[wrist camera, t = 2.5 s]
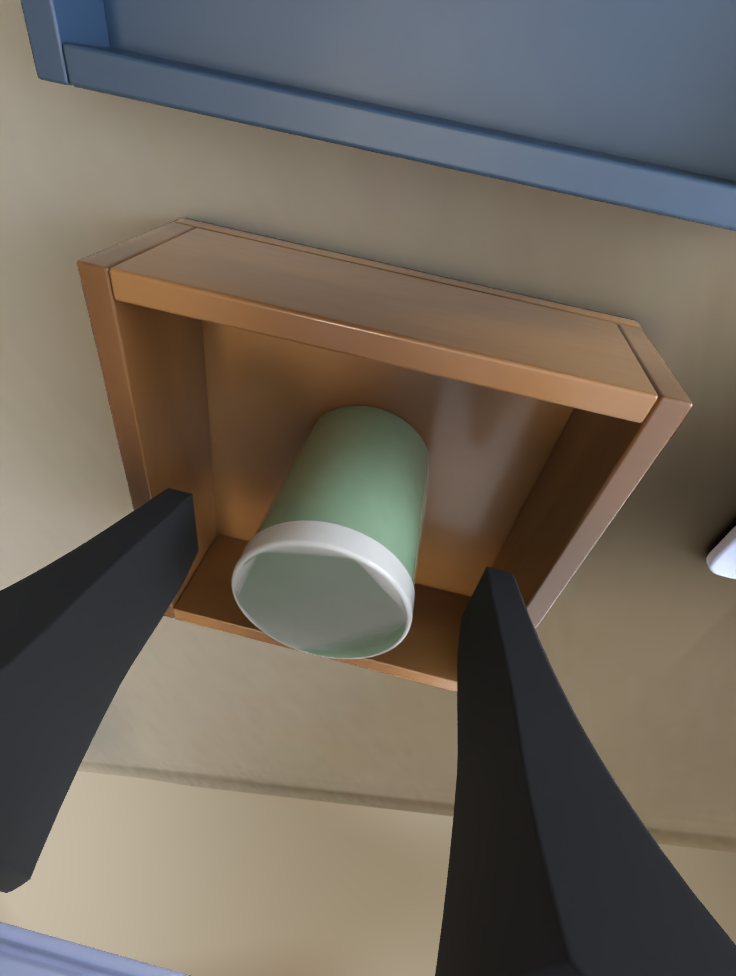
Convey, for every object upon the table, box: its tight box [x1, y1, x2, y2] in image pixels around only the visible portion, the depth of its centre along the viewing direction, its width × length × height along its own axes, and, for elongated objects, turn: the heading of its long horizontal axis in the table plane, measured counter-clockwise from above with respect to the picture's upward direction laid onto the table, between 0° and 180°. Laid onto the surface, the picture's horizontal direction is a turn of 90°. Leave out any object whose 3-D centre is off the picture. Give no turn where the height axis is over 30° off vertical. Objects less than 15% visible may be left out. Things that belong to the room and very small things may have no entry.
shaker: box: [231, 405, 431, 659], centre depth 13 cm, size 4×4×6 cm
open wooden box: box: [77, 218, 693, 692], centre depth 13 cm, size 11×11×4 cm
